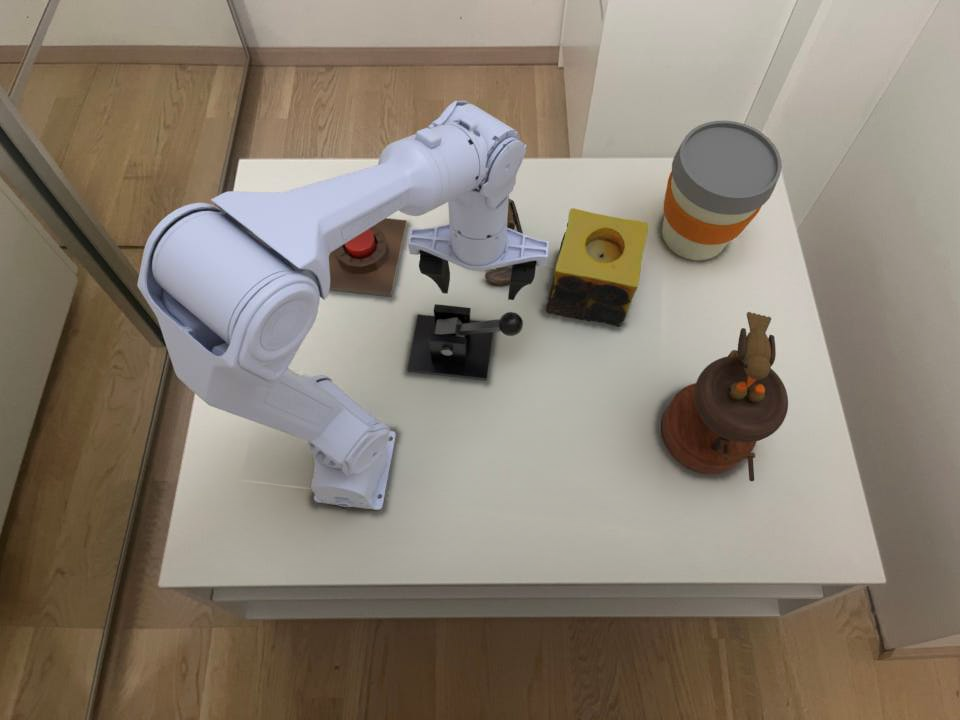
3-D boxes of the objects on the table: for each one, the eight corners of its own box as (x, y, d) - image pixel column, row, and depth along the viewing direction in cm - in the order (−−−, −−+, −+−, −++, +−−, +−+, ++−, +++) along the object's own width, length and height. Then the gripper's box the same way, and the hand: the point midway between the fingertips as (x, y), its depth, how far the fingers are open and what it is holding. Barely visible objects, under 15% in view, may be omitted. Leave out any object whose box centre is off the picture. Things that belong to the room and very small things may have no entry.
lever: (527, 318, 78) (518, 306, 76) (525, 339, 77) (516, 327, 75) (447, 327, 83) (436, 316, 81) (443, 347, 82) (433, 336, 80)
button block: (391, 298, 89) (389, 286, 86) (318, 290, 89) (313, 278, 86) (407, 225, 94) (405, 211, 91) (337, 218, 94) (333, 204, 92)
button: (372, 260, 88) (370, 252, 86) (343, 256, 88) (340, 249, 87) (378, 235, 90) (376, 227, 88) (349, 232, 90) (347, 224, 88)
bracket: (494, 326, 87) (495, 299, 81) (487, 382, 83) (487, 358, 77) (418, 317, 87) (413, 290, 81) (408, 373, 84) (402, 349, 78)
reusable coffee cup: (651, 269, 90) (681, 197, 77) (646, 195, 96) (674, 116, 82) (744, 273, 90) (791, 202, 77) (734, 199, 95) (776, 120, 82)
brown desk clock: (539, 186, 90) (467, 169, 88) (533, 260, 83) (455, 242, 82) (524, 222, 96) (456, 205, 94) (518, 293, 89) (445, 277, 88)
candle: (544, 314, 87) (551, 272, 78) (559, 252, 92) (567, 205, 83) (621, 330, 86) (638, 290, 77) (632, 266, 91) (649, 221, 82)
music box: (648, 381, 83) (711, 298, 65) (732, 381, 84) (817, 299, 66) (668, 502, 77) (744, 448, 59) (759, 500, 78) (862, 446, 60)
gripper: (555, 189, 66) (543, 266, 78) (411, 177, 67) (422, 254, 79) (550, 248, 63) (539, 318, 75) (399, 234, 64) (412, 305, 76)
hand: (478, 289), depth 77 cm, fingers open, 7 cm apart
